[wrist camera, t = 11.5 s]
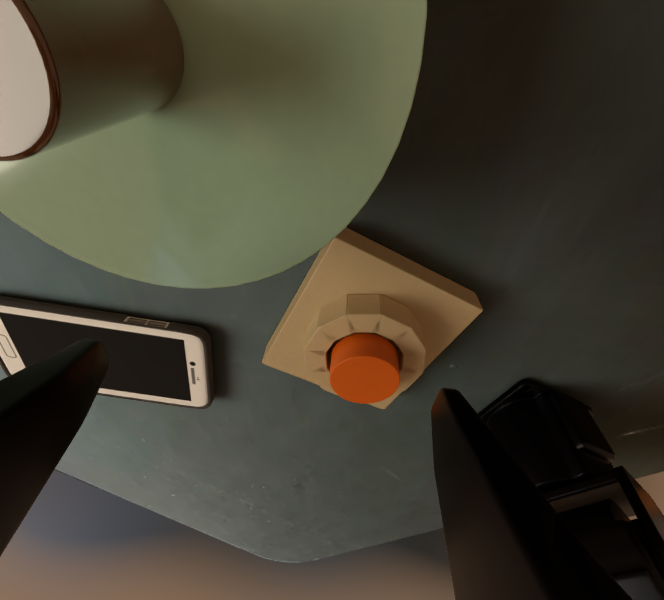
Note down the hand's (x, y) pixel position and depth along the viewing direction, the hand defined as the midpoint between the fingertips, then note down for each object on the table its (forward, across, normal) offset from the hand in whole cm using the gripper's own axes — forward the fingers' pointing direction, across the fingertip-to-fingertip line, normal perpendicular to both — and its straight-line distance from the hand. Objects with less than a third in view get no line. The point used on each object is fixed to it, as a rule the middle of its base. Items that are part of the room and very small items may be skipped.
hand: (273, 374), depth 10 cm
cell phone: (+11, +13, +12) cm, 21 cm away
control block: (+11, -4, +6) cm, 13 cm away
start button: (+8, -4, +7) cm, 11 cm away
